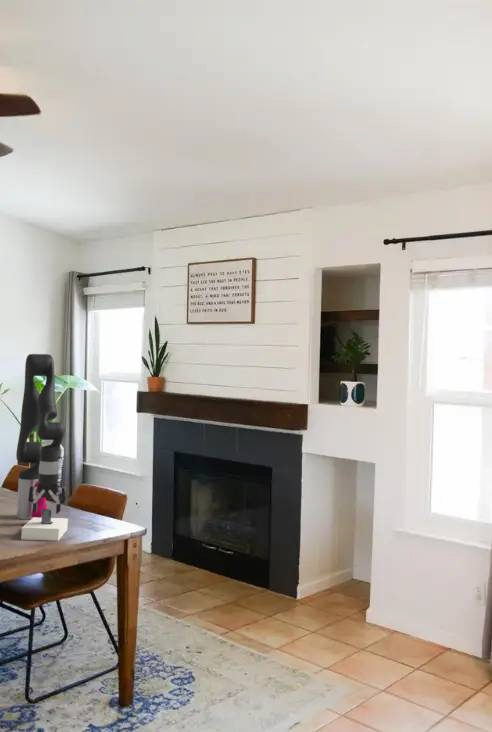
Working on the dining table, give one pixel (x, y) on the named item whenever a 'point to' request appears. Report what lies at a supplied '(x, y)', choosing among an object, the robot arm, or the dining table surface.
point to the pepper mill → (39, 504)
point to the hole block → (44, 529)
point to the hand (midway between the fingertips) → (46, 512)
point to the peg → (46, 516)
